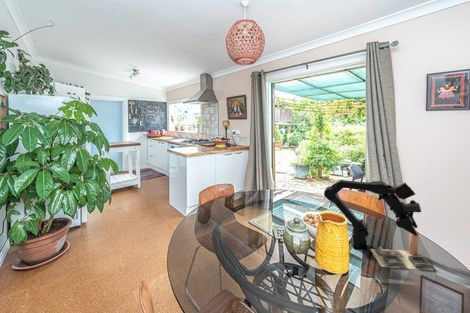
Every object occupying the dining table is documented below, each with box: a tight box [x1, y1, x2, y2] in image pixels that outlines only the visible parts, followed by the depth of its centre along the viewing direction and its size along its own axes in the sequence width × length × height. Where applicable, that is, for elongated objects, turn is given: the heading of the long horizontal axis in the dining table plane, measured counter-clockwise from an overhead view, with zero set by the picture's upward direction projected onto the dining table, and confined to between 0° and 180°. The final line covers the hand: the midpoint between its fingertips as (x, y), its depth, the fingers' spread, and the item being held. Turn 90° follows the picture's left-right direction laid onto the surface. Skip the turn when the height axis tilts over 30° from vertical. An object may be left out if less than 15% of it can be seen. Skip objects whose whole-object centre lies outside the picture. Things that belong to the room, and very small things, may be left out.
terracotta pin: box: [408, 230, 419, 256], centre depth 105 cm, size 4×4×12 cm
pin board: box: [369, 248, 434, 271], centre depth 104 cm, size 21×14×3 cm
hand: (416, 231), depth 102 cm, fingers open, 9 cm apart
